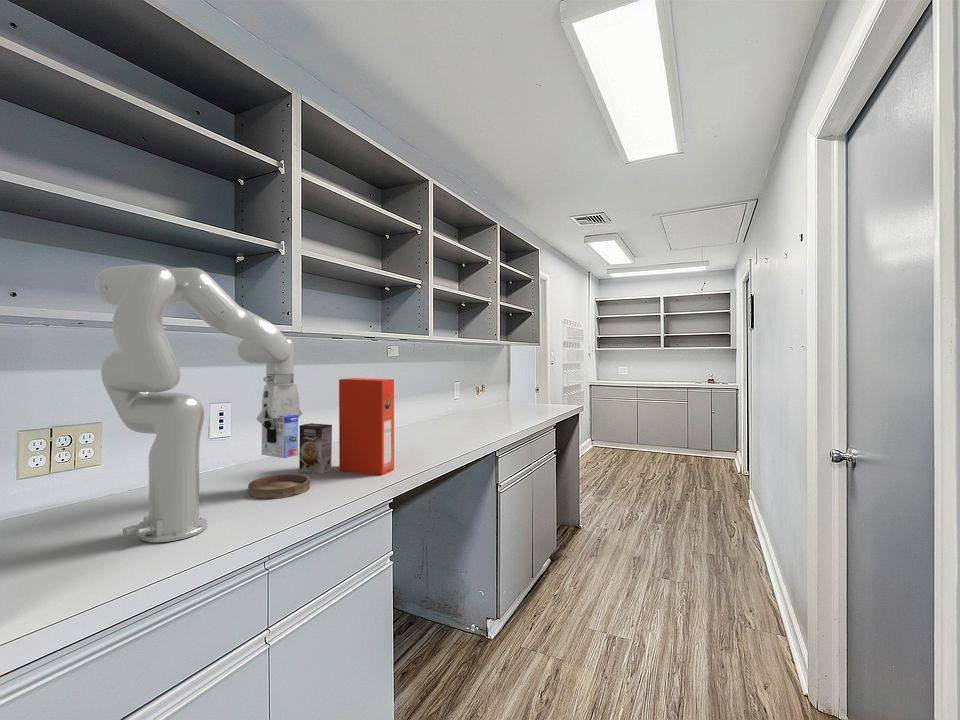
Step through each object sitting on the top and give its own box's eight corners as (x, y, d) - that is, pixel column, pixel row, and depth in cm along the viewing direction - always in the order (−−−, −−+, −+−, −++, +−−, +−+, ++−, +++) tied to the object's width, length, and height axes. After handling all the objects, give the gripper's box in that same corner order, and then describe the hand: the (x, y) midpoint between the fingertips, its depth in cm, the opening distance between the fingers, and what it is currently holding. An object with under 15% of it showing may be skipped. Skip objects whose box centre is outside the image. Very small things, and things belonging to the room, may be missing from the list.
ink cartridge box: (299, 454, 135) (299, 406, 135) (284, 459, 130) (283, 409, 130) (276, 451, 140) (275, 404, 139) (260, 455, 135) (260, 407, 134)
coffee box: (298, 472, 156) (298, 425, 155) (310, 467, 162) (310, 422, 162) (320, 474, 153) (320, 426, 153) (332, 469, 159) (332, 424, 159)
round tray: (275, 502, 124) (275, 492, 124) (236, 493, 131) (236, 484, 131) (321, 486, 139) (321, 478, 139) (284, 479, 146) (284, 471, 146)
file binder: (381, 475, 152) (381, 380, 151) (338, 470, 158) (339, 379, 157) (394, 470, 159) (394, 379, 159) (352, 465, 165) (353, 378, 165)
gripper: (263, 382, 125) (263, 447, 126) (311, 378, 141) (312, 437, 141) (245, 381, 129) (245, 444, 129) (294, 378, 144) (295, 435, 144)
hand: (280, 440), depth 135 cm, fingers closed on ink cartridge box, 5 cm apart
